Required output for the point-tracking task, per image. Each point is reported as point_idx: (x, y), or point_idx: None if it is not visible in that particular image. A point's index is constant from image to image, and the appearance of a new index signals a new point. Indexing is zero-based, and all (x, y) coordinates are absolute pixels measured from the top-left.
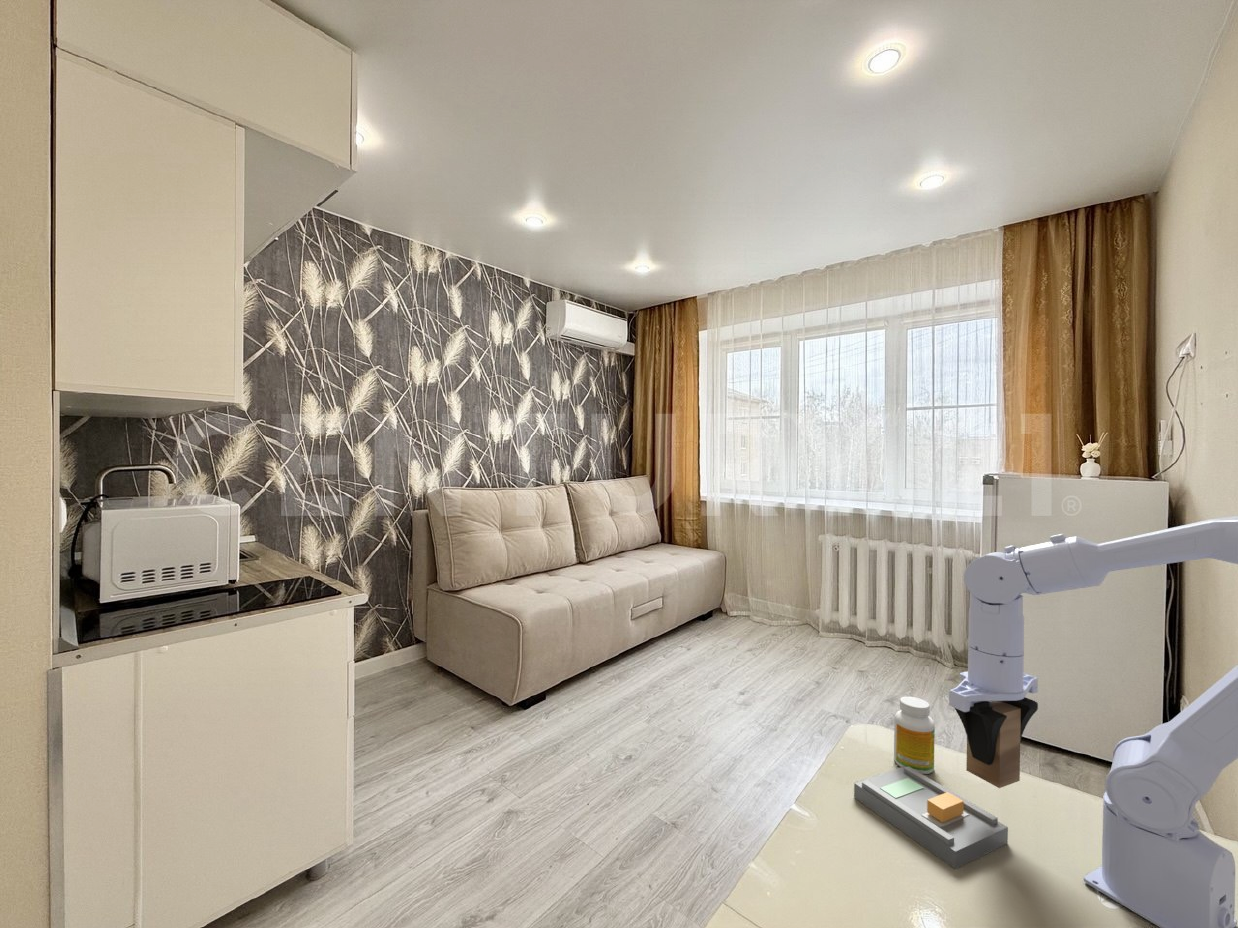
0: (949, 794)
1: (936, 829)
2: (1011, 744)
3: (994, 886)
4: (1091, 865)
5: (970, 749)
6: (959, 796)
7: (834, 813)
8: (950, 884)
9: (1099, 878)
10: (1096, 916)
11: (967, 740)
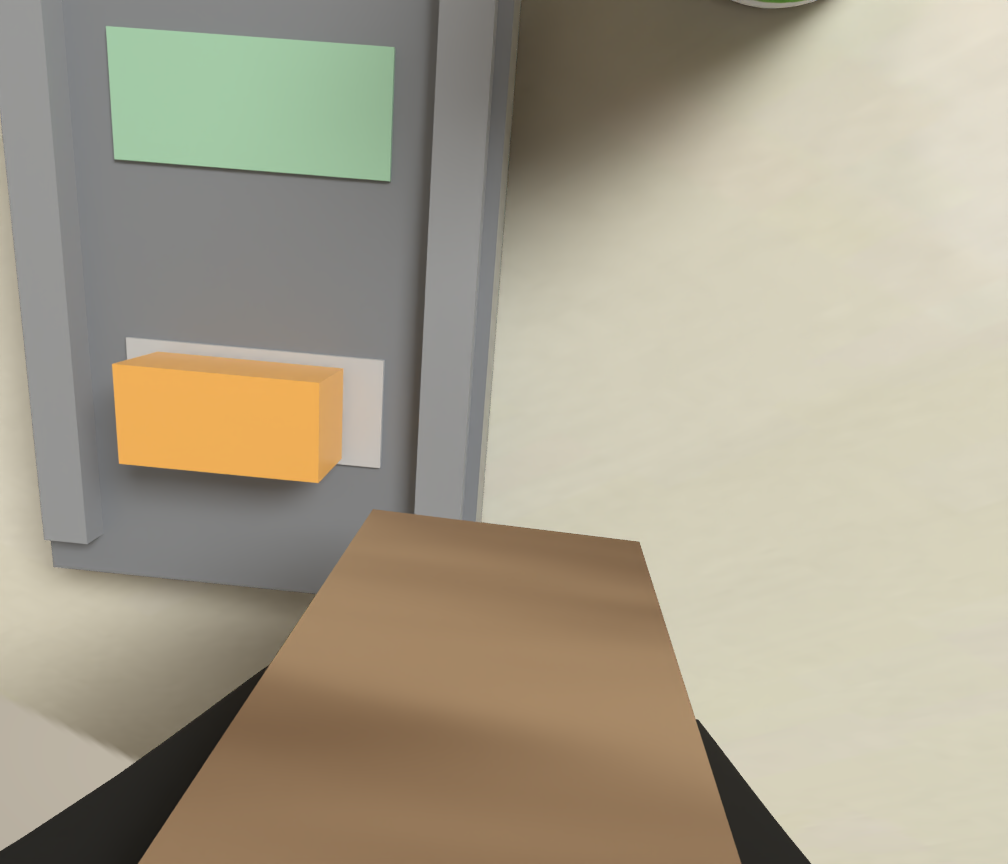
0: (303, 402)
1: (52, 470)
2: None
3: (167, 648)
4: None
5: (238, 687)
6: (463, 376)
7: None
8: (14, 563)
9: None
10: None
11: (277, 662)
